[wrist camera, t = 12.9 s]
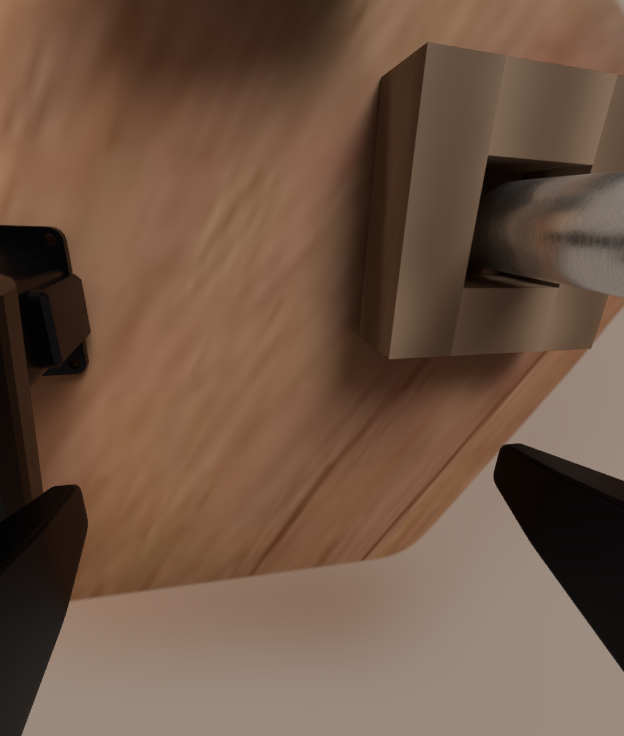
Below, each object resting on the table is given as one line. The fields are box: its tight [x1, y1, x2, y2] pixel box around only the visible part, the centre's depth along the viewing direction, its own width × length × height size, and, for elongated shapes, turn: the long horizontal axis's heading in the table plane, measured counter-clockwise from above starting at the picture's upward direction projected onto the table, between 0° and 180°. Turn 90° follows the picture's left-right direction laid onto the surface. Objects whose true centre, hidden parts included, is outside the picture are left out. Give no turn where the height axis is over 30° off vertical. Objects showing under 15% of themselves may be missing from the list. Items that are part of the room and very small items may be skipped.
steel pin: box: [468, 171, 624, 298], centre depth 16 cm, size 4×4×12 cm
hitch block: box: [359, 42, 624, 359], centre depth 19 cm, size 12×12×4 cm
